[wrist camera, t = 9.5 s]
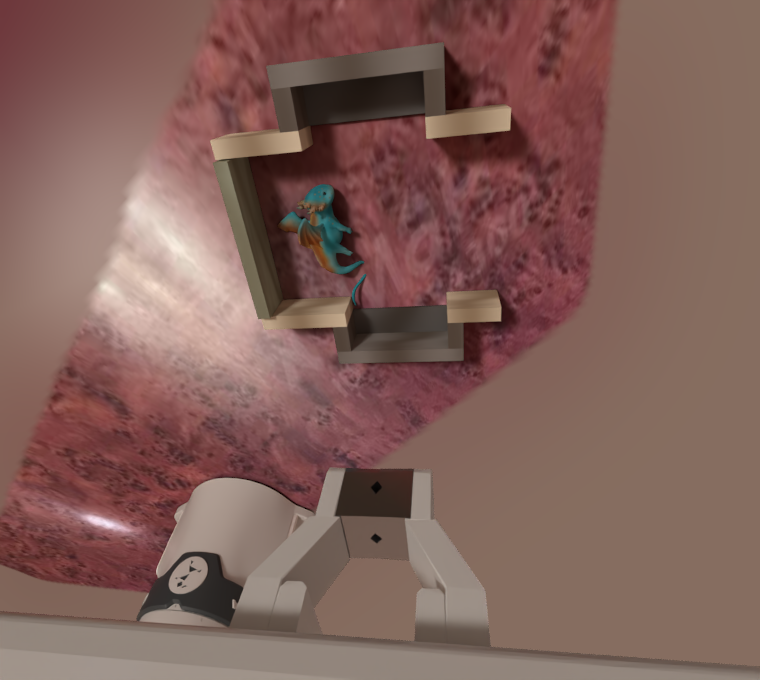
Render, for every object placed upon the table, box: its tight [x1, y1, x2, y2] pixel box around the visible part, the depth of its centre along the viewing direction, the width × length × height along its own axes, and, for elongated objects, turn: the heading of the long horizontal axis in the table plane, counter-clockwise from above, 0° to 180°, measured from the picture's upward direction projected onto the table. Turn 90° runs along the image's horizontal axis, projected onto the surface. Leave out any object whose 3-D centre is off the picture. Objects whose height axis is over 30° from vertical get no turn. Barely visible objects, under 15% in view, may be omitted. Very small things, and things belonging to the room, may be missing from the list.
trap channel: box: [210, 42, 511, 364], centre depth 31 cm, size 19×22×4 cm
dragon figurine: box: [277, 184, 366, 306], centre depth 33 cm, size 7×7×8 cm
